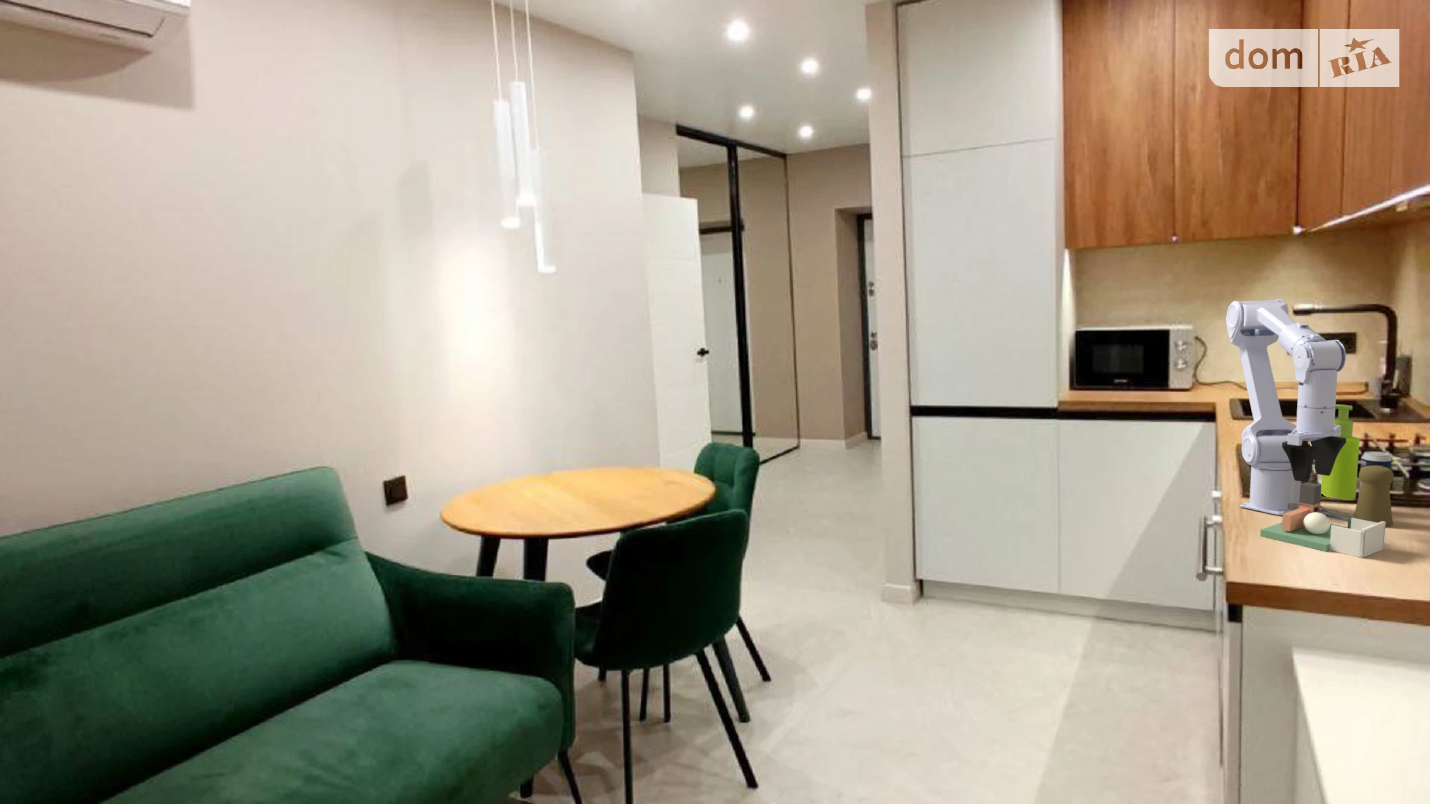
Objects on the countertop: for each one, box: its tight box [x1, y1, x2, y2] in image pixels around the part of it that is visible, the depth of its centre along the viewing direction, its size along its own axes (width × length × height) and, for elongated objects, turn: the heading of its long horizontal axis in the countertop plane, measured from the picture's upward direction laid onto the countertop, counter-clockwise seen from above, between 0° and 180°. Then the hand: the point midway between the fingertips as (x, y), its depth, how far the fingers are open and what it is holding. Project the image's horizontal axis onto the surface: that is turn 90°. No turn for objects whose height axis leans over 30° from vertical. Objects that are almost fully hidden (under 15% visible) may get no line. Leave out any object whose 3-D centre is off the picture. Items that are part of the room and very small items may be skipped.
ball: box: [1303, 512, 1331, 534], centre depth 152 cm, size 4×4×4 cm
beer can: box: [1358, 450, 1393, 495], centre depth 165 cm, size 5×5×12 cm
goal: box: [1329, 518, 1386, 559], centre depth 146 cm, size 7×5×5 cm
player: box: [1281, 481, 1322, 531], centre depth 155 cm, size 9×2×7 cm, turn 119°
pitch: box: [1260, 521, 1348, 552], centre depth 154 cm, size 13×11×1 cm
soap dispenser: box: [1320, 403, 1361, 500], centre depth 175 cm, size 6×7×20 cm
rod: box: [1288, 503, 1357, 529], centre depth 155 cm, size 1×11×3 cm, turn 29°
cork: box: [1353, 466, 1395, 528], centre depth 159 cm, size 6×6×11 cm
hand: (1312, 477), depth 156 cm, fingers open, 7 cm apart
